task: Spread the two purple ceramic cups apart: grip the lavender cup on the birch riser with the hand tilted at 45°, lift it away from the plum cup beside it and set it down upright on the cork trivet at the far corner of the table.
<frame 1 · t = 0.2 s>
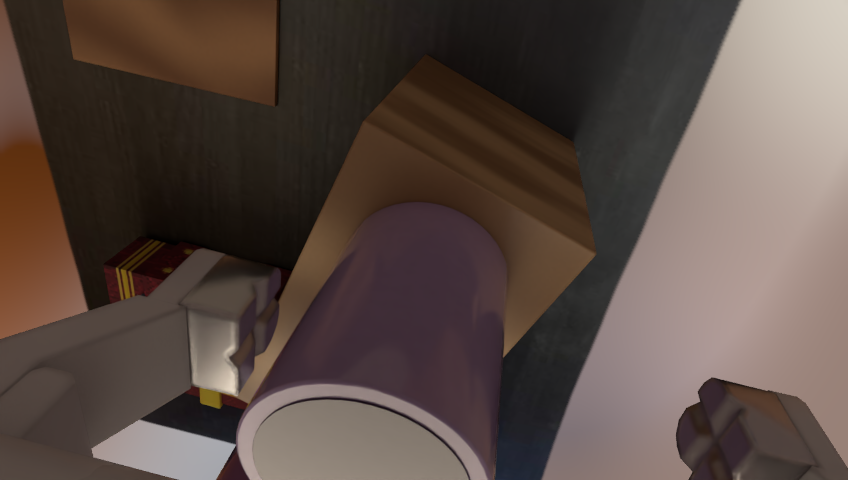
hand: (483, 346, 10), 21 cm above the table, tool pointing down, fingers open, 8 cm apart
riser: (429, 213, 33), on the table
plum cup: (348, 389, 24), point 12 cm above the table, touching riser
decorative book: (246, 313, 40), on the table
lavender cup: (424, 275, 20), point 12 cm above the table, touching riser
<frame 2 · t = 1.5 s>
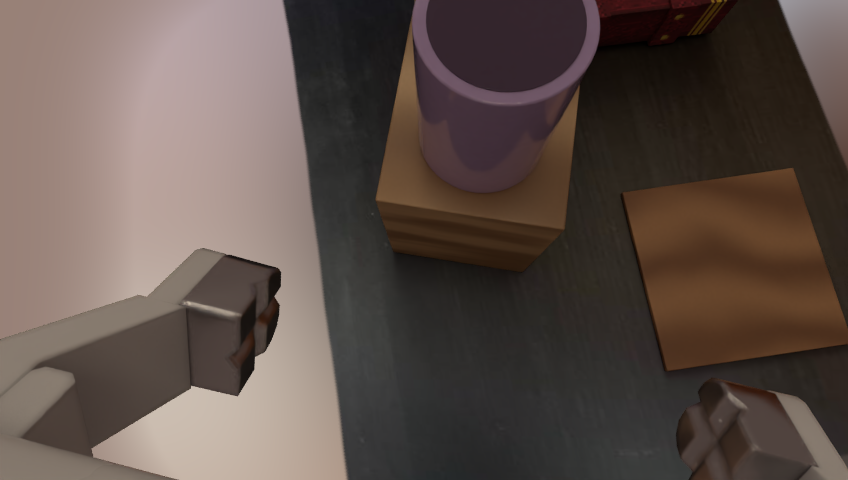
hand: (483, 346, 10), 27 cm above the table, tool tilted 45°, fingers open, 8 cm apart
riser: (473, 155, 39), on the table
trivet: (730, 265, 37), on the table
lavender cup: (481, 133, 27), point 12 cm above the table, touching riser
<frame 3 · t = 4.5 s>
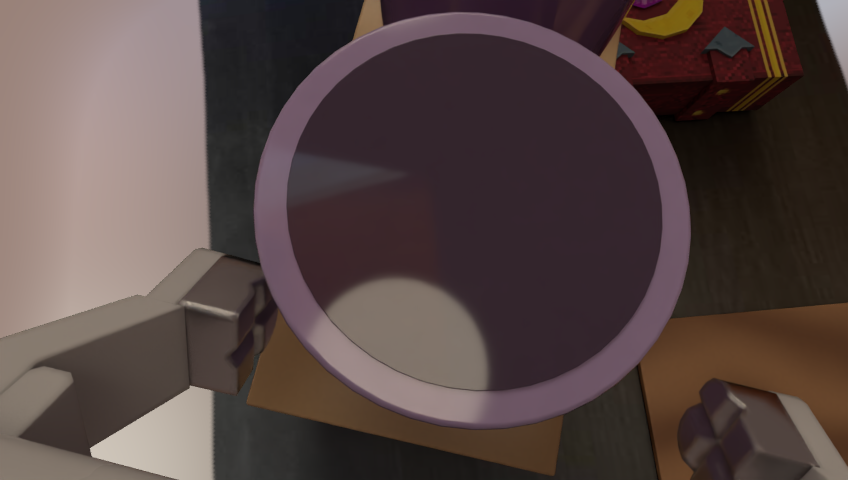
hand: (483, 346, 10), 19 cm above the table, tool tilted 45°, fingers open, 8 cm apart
riser: (437, 254, 29), on the table
trivet: (770, 434, 27), on the table
plum cup: (478, 78, 18), point 12 cm above the table, touching riser
decorative book: (612, 45, 33), on the table
lavender cup: (431, 294, 16), point 12 cm above the table, touching gripper, riser
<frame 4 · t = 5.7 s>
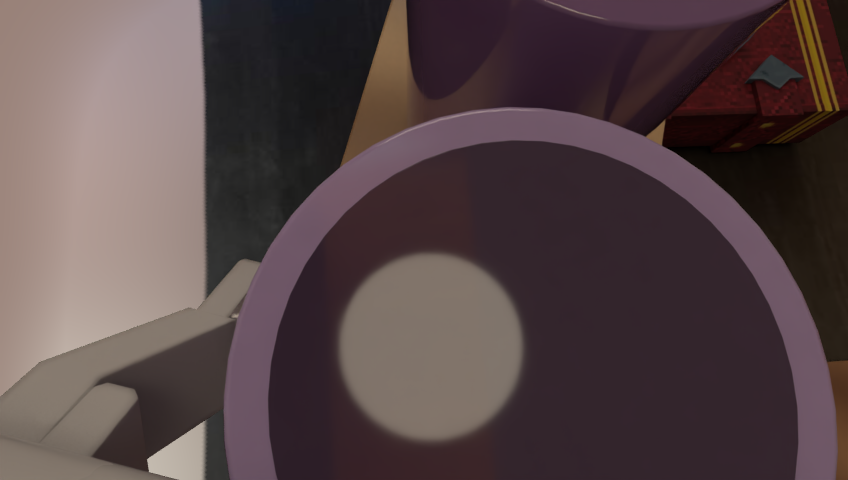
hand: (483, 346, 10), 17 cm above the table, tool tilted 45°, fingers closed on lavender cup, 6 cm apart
riser: (451, 294, 27), on the table
plum cup: (511, 120, 16), point 12 cm above the table, touching riser
decorative book: (643, 69, 31), on the table
lavender cup: (456, 373, 14), point 12 cm above the table, touching gripper, riser
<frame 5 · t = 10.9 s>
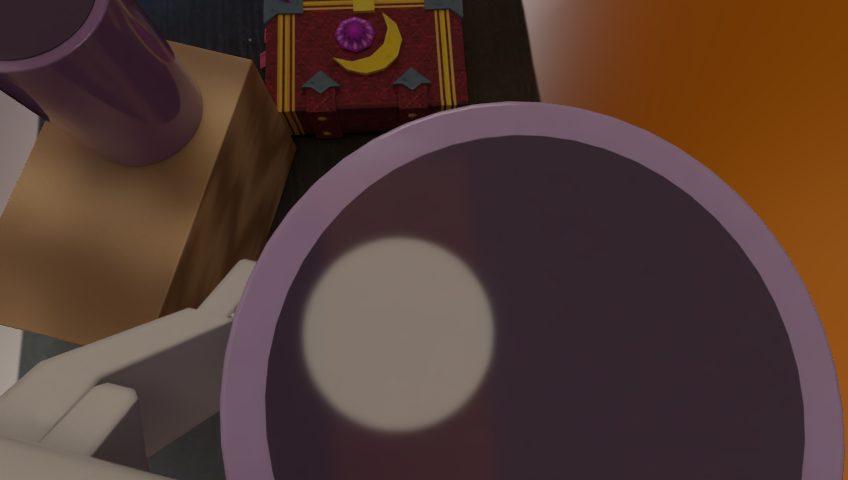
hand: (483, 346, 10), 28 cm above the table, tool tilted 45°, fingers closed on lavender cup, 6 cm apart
riser: (203, 234, 38), on the table
plum cup: (141, 110, 28), point 12 cm above the table, touching riser
decorative book: (362, 76, 42), on the table
lavender cup: (456, 372, 14), point 23 cm above the table, touching gripper
when the fingers open (5 cm above the table, at t = 16.4 s): lavender cup stays where it is, resting on trivet.
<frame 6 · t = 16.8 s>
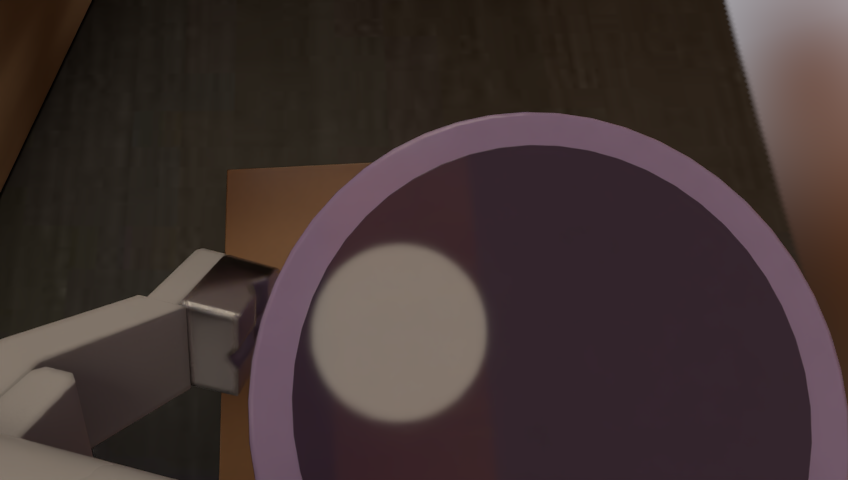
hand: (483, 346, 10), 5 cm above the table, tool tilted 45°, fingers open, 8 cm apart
trivet: (455, 374, 15), on the table
lavender cup: (464, 372, 14), resting on trivet
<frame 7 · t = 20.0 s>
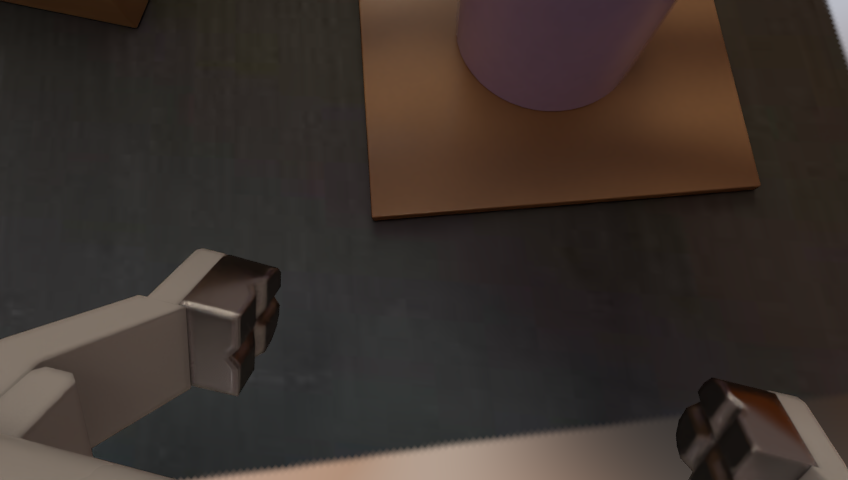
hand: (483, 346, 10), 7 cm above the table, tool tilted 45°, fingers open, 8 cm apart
trivet: (538, 38, 19), on the table
lavender cup: (546, 29, 18), resting on trivet
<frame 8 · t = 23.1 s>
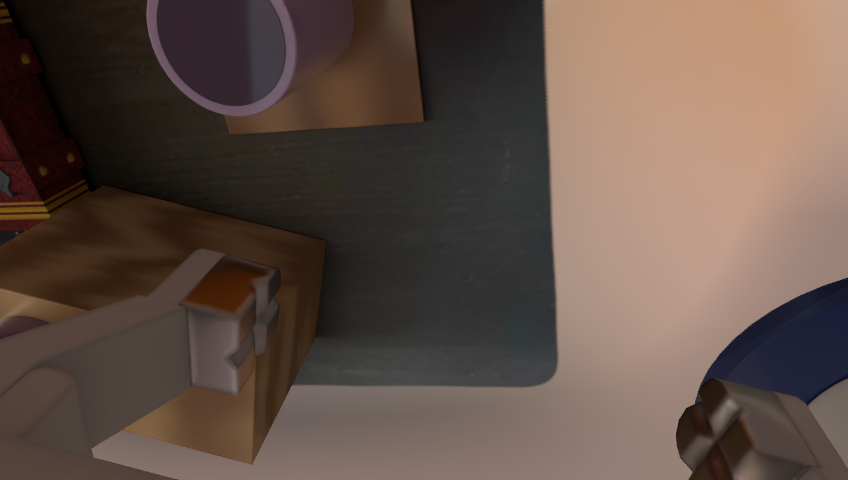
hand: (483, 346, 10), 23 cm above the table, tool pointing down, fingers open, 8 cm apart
riser: (215, 265, 40), on the table
trivet: (302, 17, 29), on the table
plum cup: (46, 360, 29), point 12 cm above the table, touching riser
lavender cup: (298, 14, 29), resting on trivet
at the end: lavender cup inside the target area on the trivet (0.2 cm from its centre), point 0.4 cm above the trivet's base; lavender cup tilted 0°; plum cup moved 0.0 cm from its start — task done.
